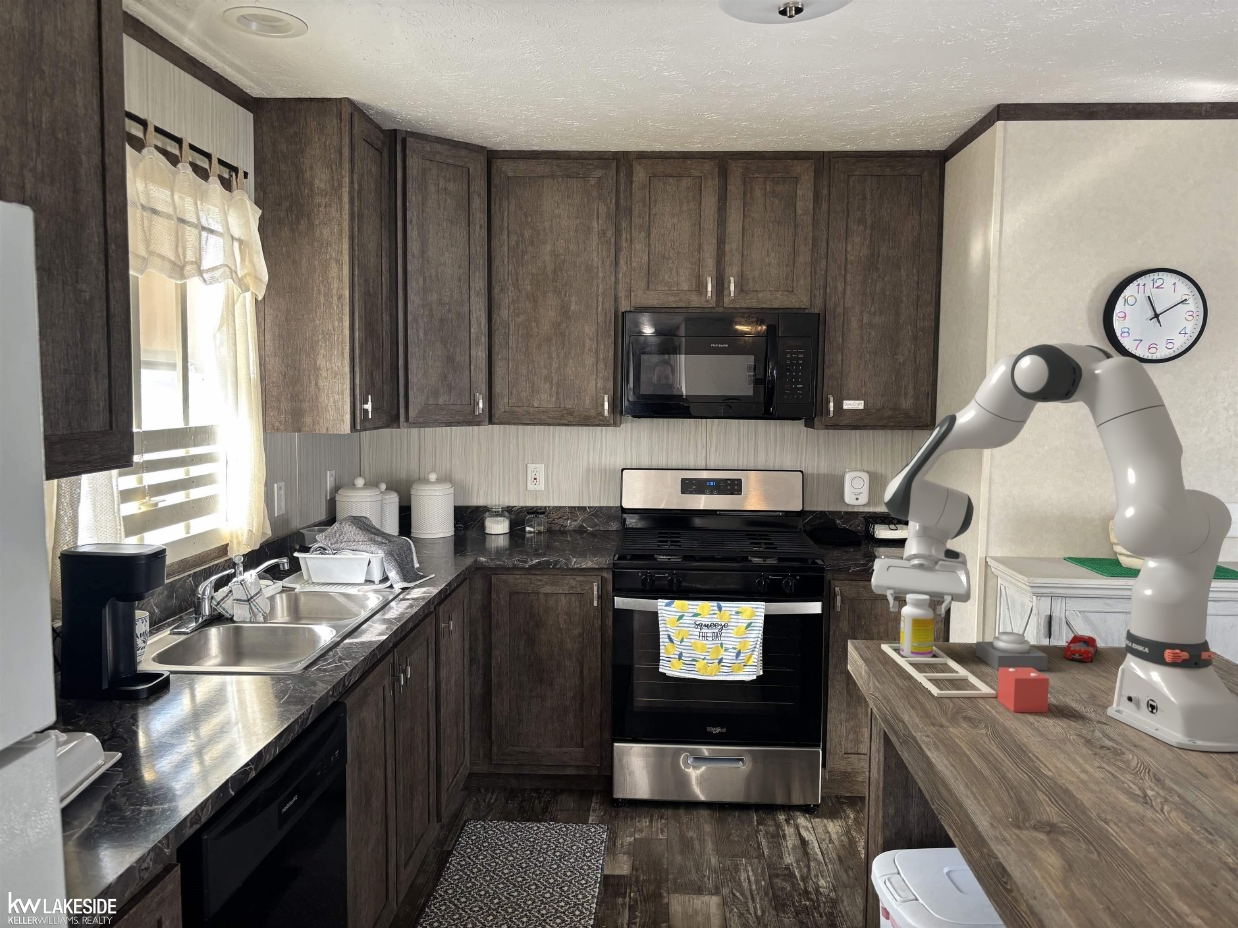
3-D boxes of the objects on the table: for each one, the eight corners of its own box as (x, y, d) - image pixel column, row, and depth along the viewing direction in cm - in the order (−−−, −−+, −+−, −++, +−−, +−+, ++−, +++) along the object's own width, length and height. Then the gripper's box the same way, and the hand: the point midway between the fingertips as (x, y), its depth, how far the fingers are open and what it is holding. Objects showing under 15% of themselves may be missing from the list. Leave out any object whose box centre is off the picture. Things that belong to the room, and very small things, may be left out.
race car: (1090, 666, 178) (1091, 647, 178) (1061, 661, 181) (1062, 642, 181) (1100, 650, 189) (1101, 632, 188) (1072, 646, 192) (1073, 628, 192)
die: (1047, 711, 151) (1049, 677, 150) (1013, 711, 151) (1014, 677, 150) (1030, 699, 157) (1031, 666, 156) (997, 699, 157) (998, 666, 156)
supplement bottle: (939, 657, 182) (941, 597, 181) (919, 662, 179) (921, 601, 178) (913, 649, 188) (915, 591, 187) (892, 653, 184) (894, 594, 183)
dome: (1036, 653, 175) (1036, 639, 175) (1002, 653, 175) (1002, 639, 175) (1019, 643, 182) (1020, 630, 182) (986, 643, 182) (987, 630, 182)
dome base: (1046, 670, 174) (1047, 655, 174) (997, 670, 174) (998, 655, 173) (1022, 655, 184) (1023, 641, 184) (975, 655, 184) (976, 641, 183)
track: (996, 696, 158) (996, 692, 158) (936, 696, 158) (936, 692, 158) (931, 647, 189) (931, 644, 189) (881, 647, 189) (881, 644, 189)
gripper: (874, 546, 192) (864, 598, 184) (973, 554, 183) (967, 610, 175) (877, 563, 197) (867, 614, 189) (974, 571, 188) (968, 626, 180)
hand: (916, 612), depth 182 cm, fingers open, 8 cm apart
